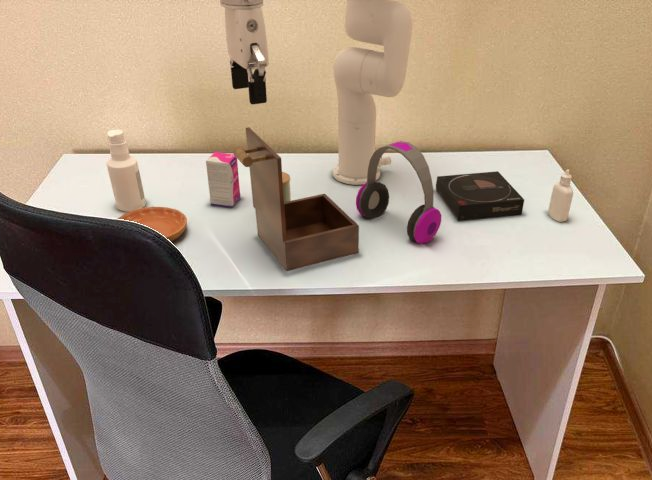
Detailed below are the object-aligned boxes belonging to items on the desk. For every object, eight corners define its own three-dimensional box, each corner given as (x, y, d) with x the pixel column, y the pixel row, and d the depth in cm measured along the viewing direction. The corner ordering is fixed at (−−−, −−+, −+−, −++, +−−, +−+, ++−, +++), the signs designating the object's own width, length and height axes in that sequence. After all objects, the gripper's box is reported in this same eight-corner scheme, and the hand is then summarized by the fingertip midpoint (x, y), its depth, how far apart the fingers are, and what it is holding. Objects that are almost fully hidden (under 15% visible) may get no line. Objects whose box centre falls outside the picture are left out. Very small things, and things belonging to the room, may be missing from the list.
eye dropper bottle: (565, 212, 162) (576, 165, 154) (567, 223, 157) (578, 175, 150) (547, 210, 162) (557, 164, 154) (548, 221, 158) (558, 174, 150)
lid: (249, 127, 133) (222, 131, 130) (281, 157, 121) (252, 163, 119) (256, 206, 144) (232, 211, 141) (286, 240, 132) (260, 247, 130)
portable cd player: (494, 184, 173) (497, 170, 170) (521, 214, 160) (524, 199, 158) (435, 190, 170) (436, 175, 167) (457, 221, 157) (459, 205, 154)
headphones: (443, 238, 150) (452, 154, 138) (417, 252, 145) (424, 165, 133) (377, 207, 161) (380, 126, 149) (352, 219, 156) (352, 136, 144)
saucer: (144, 212, 157) (142, 200, 155) (202, 225, 152) (200, 213, 150) (99, 243, 145) (96, 231, 143) (161, 258, 141) (158, 246, 139)
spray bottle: (152, 202, 160) (137, 129, 149) (133, 214, 156) (116, 140, 144) (130, 196, 163) (113, 124, 151) (110, 208, 158) (92, 134, 146)
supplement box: (233, 208, 159) (228, 163, 152) (210, 205, 160) (203, 160, 153) (241, 198, 164) (237, 153, 156) (219, 195, 164) (213, 151, 157)
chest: (325, 222, 155) (324, 193, 150) (358, 256, 143) (359, 225, 139) (257, 238, 148) (255, 208, 144) (286, 274, 137) (284, 243, 132)
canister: (285, 206, 160) (283, 169, 154) (296, 218, 156) (294, 180, 150) (259, 212, 158) (256, 174, 152) (270, 224, 153) (267, 185, 147)
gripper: (279, 4, 111) (284, 106, 122) (245, -15, 123) (252, 80, 134) (236, 7, 108) (245, 112, 119) (205, -12, 120) (216, 85, 131)
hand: (249, 95), depth 126 cm, fingers open, 9 cm apart
